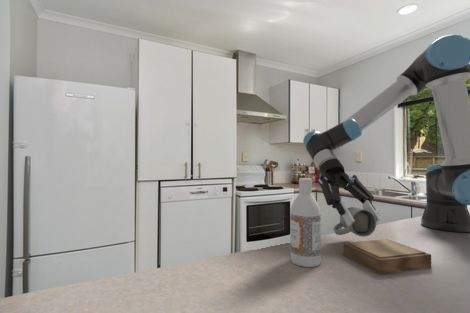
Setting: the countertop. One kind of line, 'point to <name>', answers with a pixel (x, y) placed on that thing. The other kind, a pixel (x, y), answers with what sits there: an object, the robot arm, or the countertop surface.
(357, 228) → the ceramic mug
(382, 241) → the walnut base
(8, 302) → the countertop surface
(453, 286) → the countertop surface
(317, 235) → the bath foam
